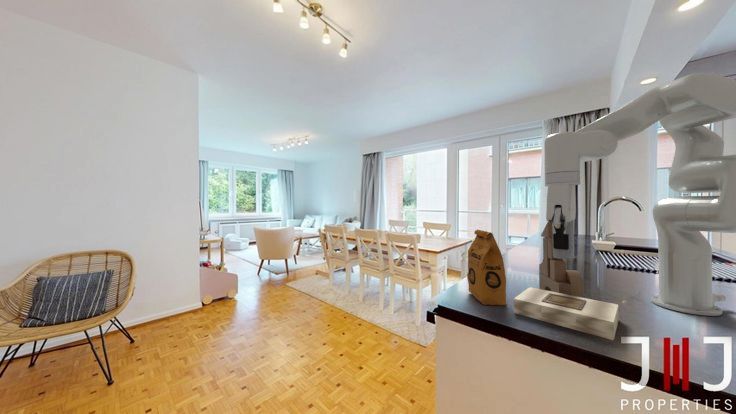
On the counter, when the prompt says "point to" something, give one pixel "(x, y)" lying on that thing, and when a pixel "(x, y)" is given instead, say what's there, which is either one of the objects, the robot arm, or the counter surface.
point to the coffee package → (486, 270)
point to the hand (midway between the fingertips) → (563, 247)
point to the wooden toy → (557, 270)
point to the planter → (570, 252)
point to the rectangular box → (569, 311)
